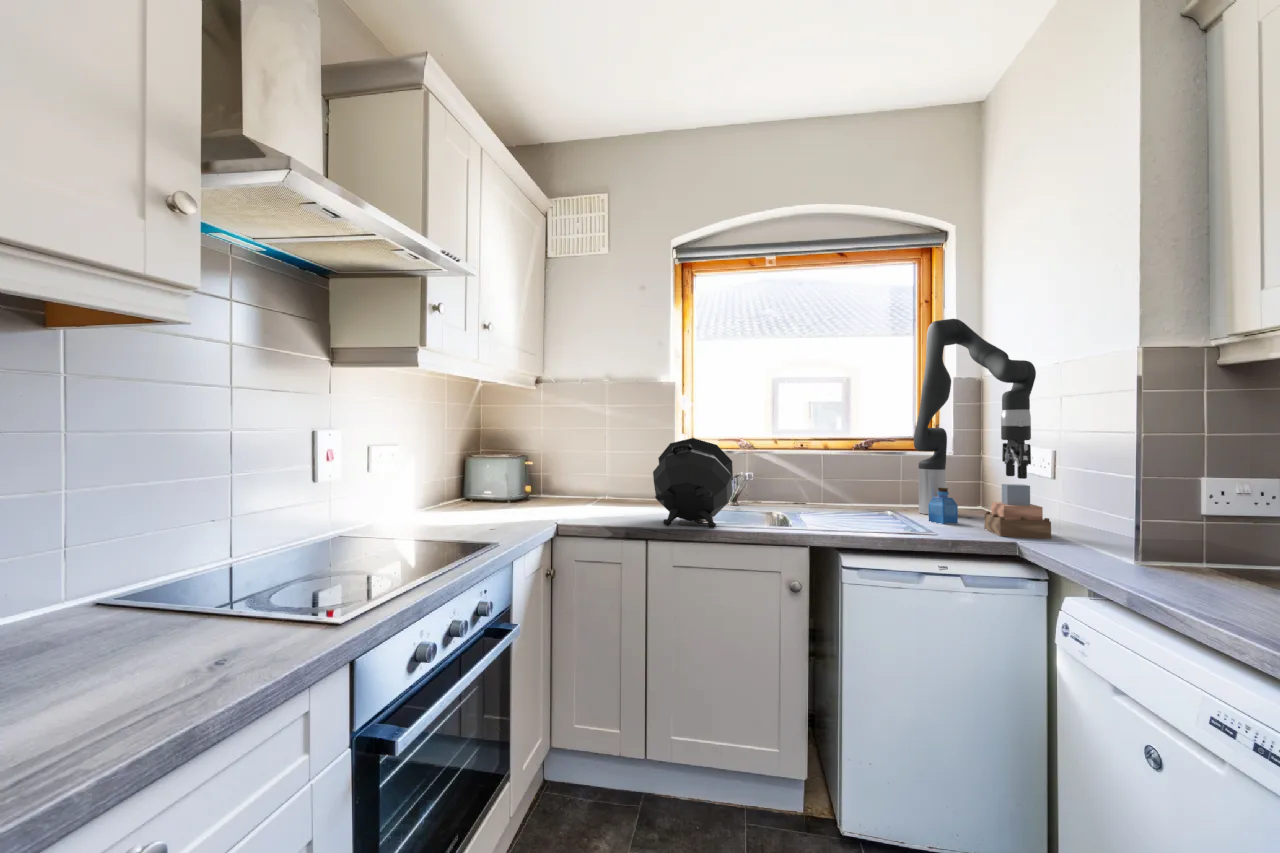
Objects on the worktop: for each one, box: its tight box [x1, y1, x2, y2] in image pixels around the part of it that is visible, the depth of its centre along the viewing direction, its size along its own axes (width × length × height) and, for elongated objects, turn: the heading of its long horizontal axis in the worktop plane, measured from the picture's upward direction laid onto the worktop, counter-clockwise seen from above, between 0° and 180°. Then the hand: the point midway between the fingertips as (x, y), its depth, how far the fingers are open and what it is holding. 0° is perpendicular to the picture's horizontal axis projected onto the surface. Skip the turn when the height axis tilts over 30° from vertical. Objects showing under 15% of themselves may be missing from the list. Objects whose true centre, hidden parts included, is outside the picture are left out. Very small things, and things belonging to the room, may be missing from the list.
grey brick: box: [1001, 483, 1031, 506], centre depth 164 cm, size 4×6×6 cm
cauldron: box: [652, 437, 734, 529], centre depth 179 cm, size 28×28×24 cm
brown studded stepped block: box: [983, 501, 1052, 540], centre depth 163 cm, size 13×13×9 cm
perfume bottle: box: [928, 487, 959, 525], centre depth 185 cm, size 6×6×12 cm
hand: (1016, 477), depth 164 cm, fingers open, 8 cm apart
